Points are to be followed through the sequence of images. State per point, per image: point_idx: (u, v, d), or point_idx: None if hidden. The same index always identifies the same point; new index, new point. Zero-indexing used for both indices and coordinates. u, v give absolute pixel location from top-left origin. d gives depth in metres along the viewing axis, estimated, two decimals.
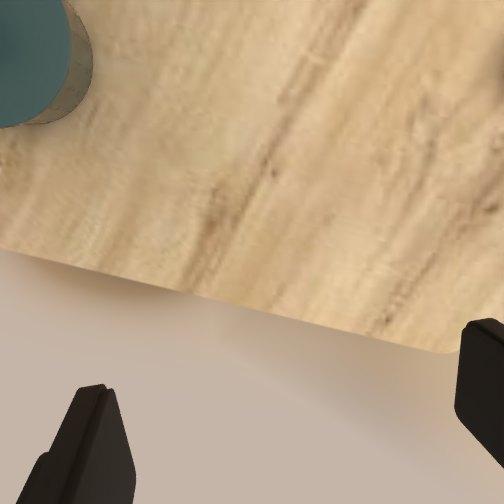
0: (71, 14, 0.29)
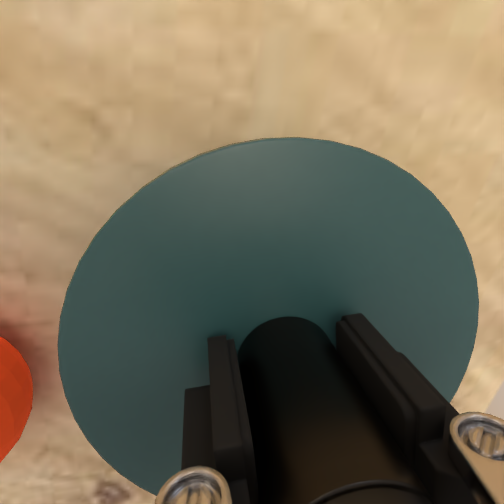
0: None
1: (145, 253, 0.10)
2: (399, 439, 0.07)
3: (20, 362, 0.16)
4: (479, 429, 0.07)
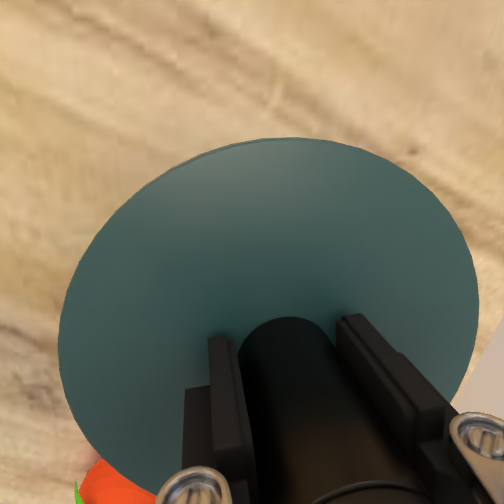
0: None
1: (145, 253, 0.10)
2: (399, 439, 0.07)
3: None
4: (479, 429, 0.07)
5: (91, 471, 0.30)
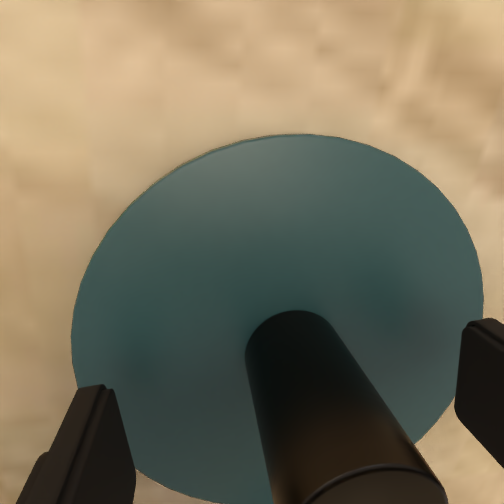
0: None
1: (157, 247, 0.10)
2: None
3: None
4: None
5: None
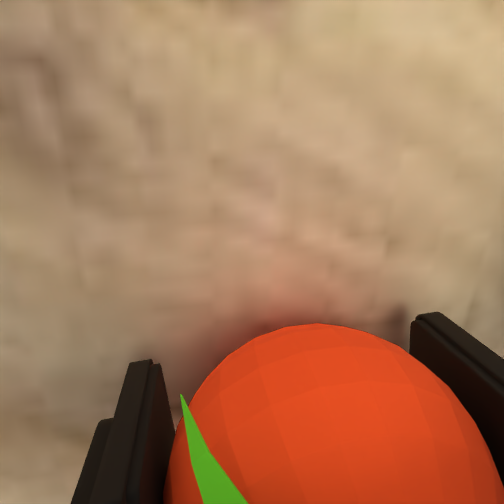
0: None
1: None
2: None
3: None
4: None
5: (221, 380, 0.07)
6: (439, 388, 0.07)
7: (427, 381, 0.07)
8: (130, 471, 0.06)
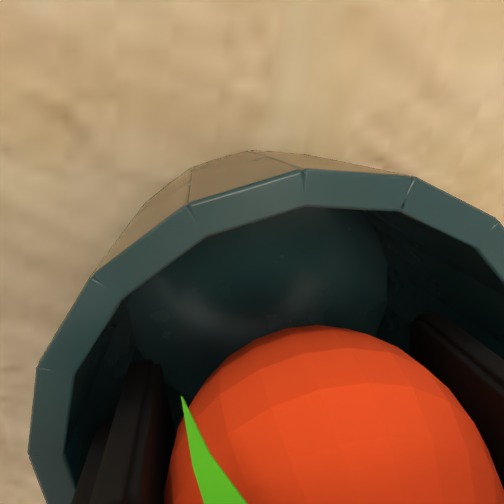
0: (207, 172, 0.10)
1: None
2: None
3: None
4: None
5: (222, 382, 0.07)
6: (439, 390, 0.07)
7: (427, 383, 0.07)
8: (130, 471, 0.06)
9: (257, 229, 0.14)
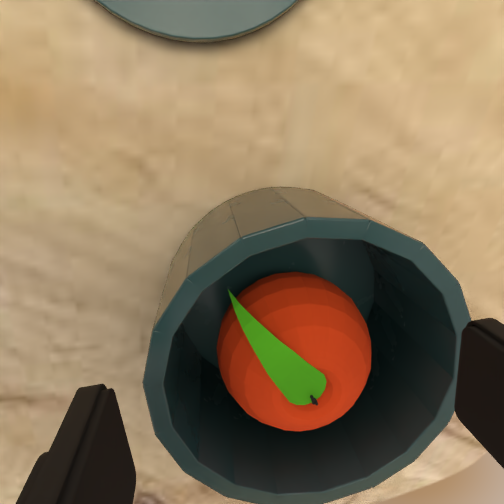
0: (243, 209, 0.15)
1: None
2: None
3: None
4: None
5: (243, 294, 0.16)
6: (340, 294, 0.15)
7: (335, 291, 0.15)
8: None
9: None
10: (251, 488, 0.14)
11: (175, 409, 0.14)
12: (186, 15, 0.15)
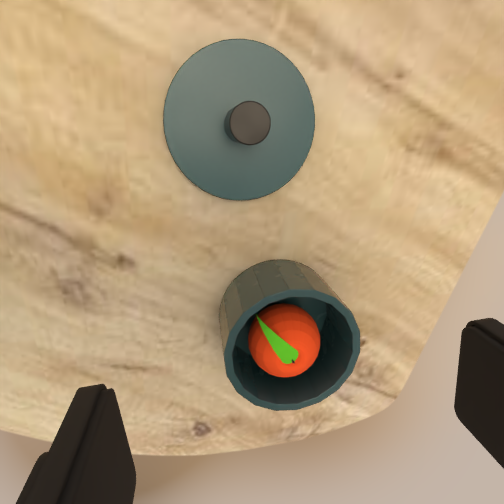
0: (262, 277, 0.33)
1: (194, 77, 0.30)
2: None
3: None
4: None
5: (261, 314, 0.34)
6: (305, 315, 0.34)
7: (303, 313, 0.34)
8: None
9: None
10: (265, 401, 0.33)
11: (233, 366, 0.32)
12: (237, 191, 0.33)
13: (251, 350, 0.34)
